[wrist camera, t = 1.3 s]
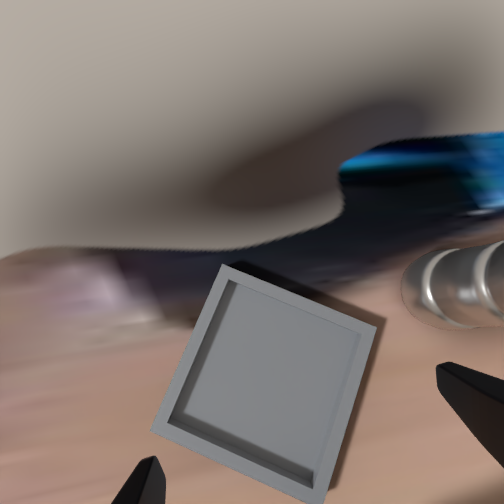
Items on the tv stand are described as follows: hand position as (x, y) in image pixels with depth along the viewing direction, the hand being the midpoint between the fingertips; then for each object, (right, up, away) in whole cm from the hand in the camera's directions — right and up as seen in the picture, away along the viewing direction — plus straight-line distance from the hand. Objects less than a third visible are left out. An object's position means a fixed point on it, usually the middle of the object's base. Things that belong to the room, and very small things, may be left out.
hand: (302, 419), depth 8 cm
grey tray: (0, -5, +15) cm, 16 cm away
